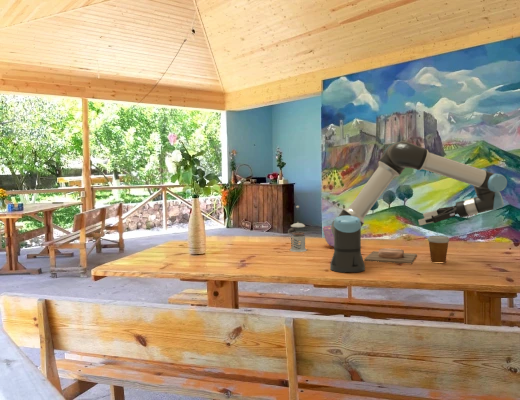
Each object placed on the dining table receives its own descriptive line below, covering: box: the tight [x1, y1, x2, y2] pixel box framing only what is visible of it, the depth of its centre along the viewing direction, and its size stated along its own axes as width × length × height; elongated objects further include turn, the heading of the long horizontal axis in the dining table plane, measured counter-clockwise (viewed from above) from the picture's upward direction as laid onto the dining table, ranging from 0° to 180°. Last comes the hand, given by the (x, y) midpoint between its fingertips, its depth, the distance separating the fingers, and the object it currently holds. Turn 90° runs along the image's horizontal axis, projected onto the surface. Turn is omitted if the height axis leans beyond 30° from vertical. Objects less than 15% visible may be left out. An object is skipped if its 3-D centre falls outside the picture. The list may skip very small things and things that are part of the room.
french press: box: [287, 205, 308, 253], centre depth 249 cm, size 10×12×25 cm
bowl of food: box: [322, 224, 334, 249], centre depth 257 cm, size 20×20×12 cm
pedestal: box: [363, 247, 418, 265], centre depth 223 cm, size 22×22×4 cm
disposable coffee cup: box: [427, 235, 450, 263], centre depth 211 cm, size 10×10×12 cm
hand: (421, 219), depth 221 cm, fingers open, 13 cm apart
